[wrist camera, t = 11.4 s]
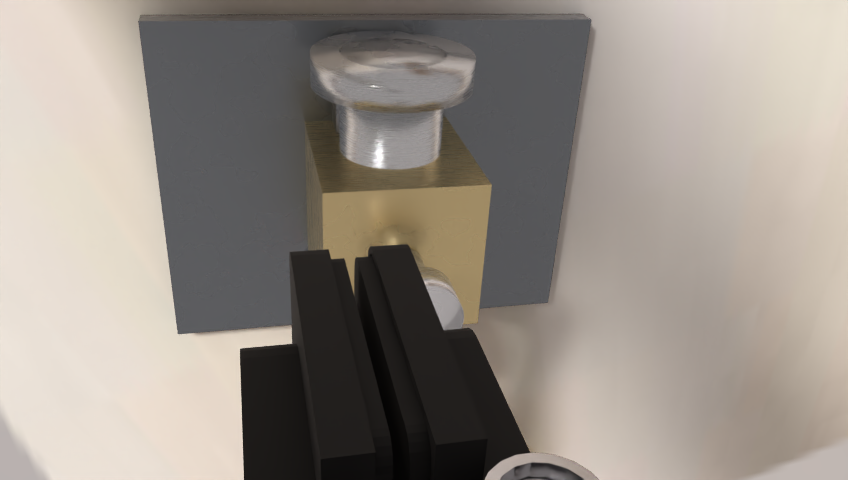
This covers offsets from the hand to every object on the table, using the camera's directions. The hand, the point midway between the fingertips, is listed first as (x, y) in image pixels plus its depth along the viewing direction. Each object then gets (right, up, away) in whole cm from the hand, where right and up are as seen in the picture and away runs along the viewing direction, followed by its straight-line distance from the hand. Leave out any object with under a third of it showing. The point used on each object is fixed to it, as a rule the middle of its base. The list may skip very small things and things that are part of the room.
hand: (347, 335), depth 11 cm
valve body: (-2, +5, +36) cm, 36 cm away
